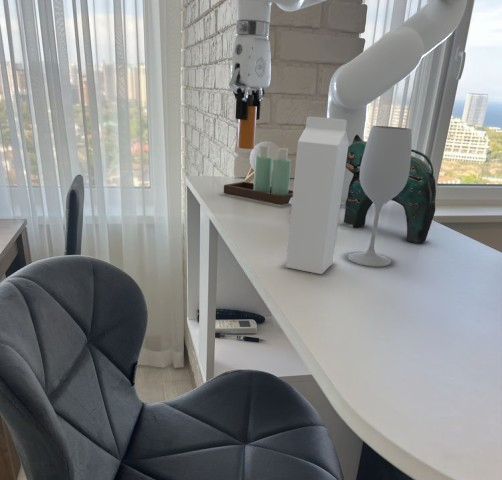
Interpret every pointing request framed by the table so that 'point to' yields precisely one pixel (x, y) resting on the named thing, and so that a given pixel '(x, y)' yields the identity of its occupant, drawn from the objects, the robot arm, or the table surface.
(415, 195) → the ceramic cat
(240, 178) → the table surface
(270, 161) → the bottle
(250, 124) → the amber bottle
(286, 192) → the bottle
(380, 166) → the wineglass
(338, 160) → the milk
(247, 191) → the tray
